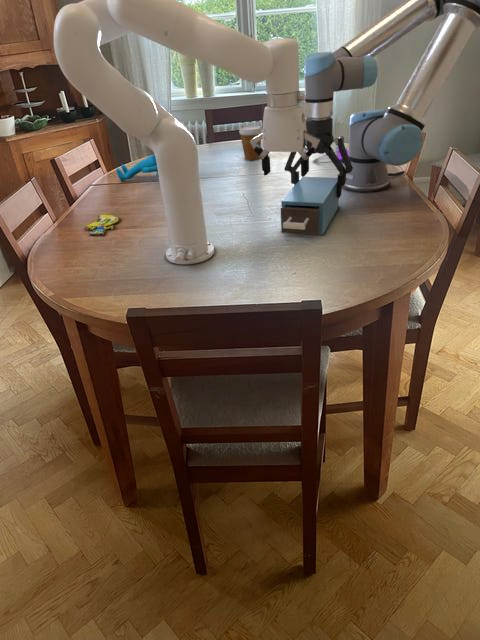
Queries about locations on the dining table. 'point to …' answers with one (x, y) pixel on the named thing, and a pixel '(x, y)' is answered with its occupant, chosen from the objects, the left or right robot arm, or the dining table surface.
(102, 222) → the toy
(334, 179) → the blue drawer cabinet
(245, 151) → the disposable coffee cup
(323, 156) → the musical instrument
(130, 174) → the toy
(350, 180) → the right robot arm
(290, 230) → the drawer
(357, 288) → the dining table surface
